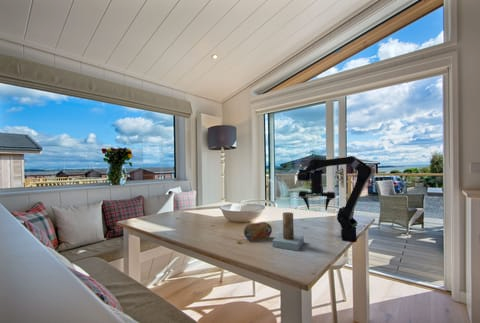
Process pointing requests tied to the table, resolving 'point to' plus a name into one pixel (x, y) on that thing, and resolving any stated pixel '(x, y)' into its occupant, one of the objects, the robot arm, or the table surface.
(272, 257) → the table surface
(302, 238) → the slate plinth
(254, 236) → the tin
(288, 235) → the walnut column
